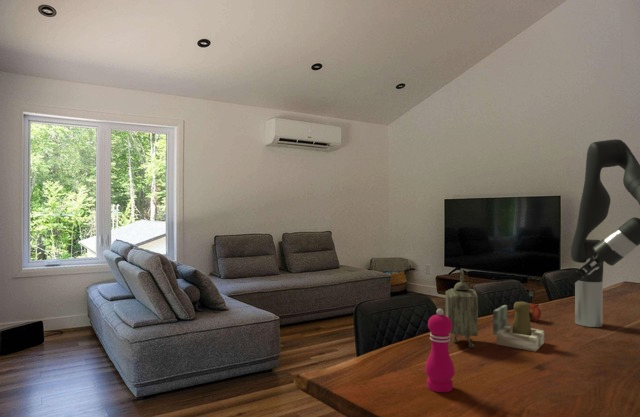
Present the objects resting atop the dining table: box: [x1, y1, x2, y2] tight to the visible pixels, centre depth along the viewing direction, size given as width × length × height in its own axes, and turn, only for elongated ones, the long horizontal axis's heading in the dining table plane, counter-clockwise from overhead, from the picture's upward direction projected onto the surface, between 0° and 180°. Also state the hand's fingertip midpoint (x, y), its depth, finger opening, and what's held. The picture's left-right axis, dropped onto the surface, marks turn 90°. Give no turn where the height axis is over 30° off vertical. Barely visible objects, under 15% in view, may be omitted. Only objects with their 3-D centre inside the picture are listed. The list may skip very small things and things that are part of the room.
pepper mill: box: [424, 308, 456, 393], centre depth 114 cm, size 7×7×20 cm
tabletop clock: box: [444, 268, 479, 349], centre depth 151 cm, size 14×9×25 cm, turn 168°
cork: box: [512, 301, 532, 336], centre depth 150 cm, size 6×6×11 cm
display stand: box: [492, 304, 545, 353], centre depth 151 cm, size 12×13×11 cm
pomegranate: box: [528, 302, 542, 322], centre depth 181 cm, size 7×7×10 cm
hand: (571, 280), depth 144 cm, fingers open, 8 cm apart
